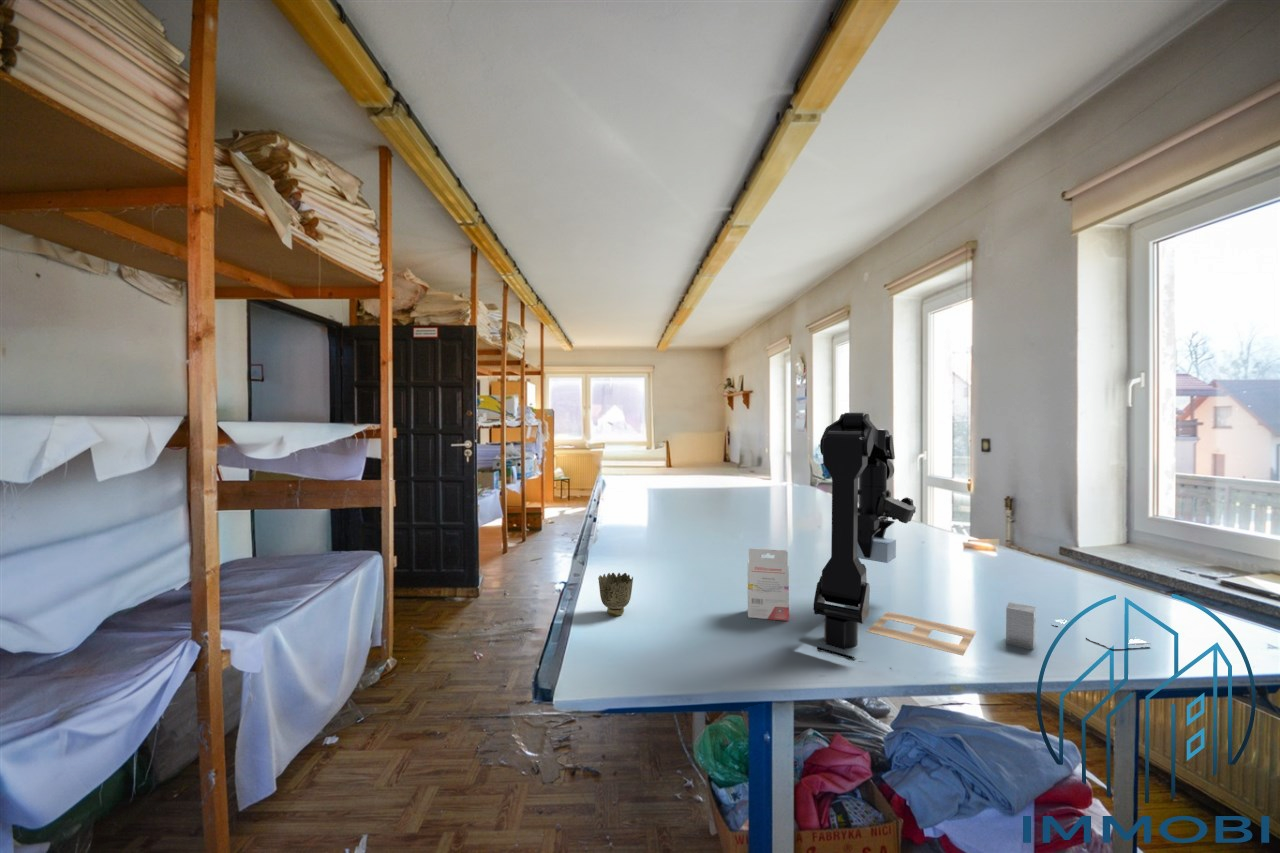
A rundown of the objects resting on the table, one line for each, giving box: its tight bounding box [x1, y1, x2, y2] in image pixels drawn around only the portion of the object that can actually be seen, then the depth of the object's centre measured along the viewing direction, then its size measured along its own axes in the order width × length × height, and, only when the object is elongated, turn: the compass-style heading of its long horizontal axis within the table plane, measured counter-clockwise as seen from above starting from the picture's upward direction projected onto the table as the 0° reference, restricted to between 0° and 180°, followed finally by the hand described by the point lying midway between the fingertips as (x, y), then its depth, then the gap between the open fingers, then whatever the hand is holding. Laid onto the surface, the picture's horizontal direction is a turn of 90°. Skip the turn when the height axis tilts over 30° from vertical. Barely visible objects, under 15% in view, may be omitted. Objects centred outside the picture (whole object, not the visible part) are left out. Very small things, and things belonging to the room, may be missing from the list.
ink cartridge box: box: [747, 547, 790, 622], centre depth 114 cm, size 9×5×15 cm, turn 76°
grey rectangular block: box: [1005, 602, 1036, 651], centre depth 96 cm, size 4×4×8 cm
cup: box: [598, 572, 634, 617], centre depth 114 cm, size 8×7×8 cm
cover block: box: [857, 537, 897, 564], centre depth 119 cm, size 6×8×4 cm
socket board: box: [866, 611, 977, 656], centre depth 102 cm, size 14×16×2 cm
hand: (872, 554), depth 119 cm, fingers closed on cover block, 6 cm apart
